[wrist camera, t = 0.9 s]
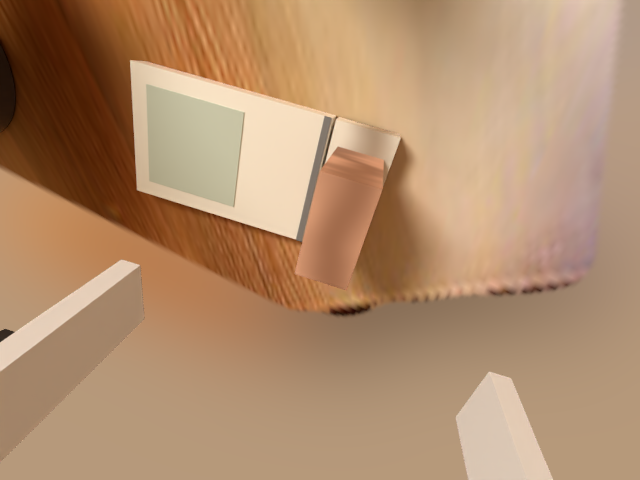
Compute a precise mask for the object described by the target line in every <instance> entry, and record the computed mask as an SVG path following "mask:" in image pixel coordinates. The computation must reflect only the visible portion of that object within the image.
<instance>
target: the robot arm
mask: <svg viewBox="0 0 640 480" xmlns="http://www.w3.org/2000/svg"><path fill="white" fill-rule="evenodd" d="M14 108H15V88H14V82H13V77H12V73H11V70H10V67H9V64H8V61H7V58H6V56H5V54H4V51H3V49H2V47H1V45H0V132H2V131H3V130H4V129H5V128H6V127H7V126H8V124H9V123H10V121H11V119H12V116H13V113H14ZM143 320H144V308H143V294H142V281H141V269H140V265H138V264H135V263H132V262H128V261H125V260H120V261H118V262H117V263H116V264H114V265H113V266H111V267H110V268H108V269H107V270H105V271H104V272H102V273H101V274H99V275H98V276H96V277H95V278H93V279H92V280H91V281H89V282H88V283H86V284H85V285H83V286H82V287H80V288H79V289H78V290H76V291H75V292H73V293H72V294H70V295H69V296H67V297H66V298H64V299H63V300H61V301H60V302H58V303H57V304H56V305H54V306H53V307H51V308H50V309H48V310H47V311H45V312H44V313H43V314H41V315H39V316H38V317H37V318H35V319H34V320H32V321H31V322H29V323H28V324H26V325H25V326H24V327H22V328H20V329H19V330H18V331H16V332H13V331H10V330H7V329H4V330H2V331H0V462H1V461H2V460H3V459H4V458H5V457H6V456H7V455H8V454H9V453H10V452H11V451H12V450H13V449H14V448H15V447H16V446H17V445H18V444H19V443H20V442H21V441H22V440H23V439H24V438H25V437H26V436H27V435H28V434H29V433H30V432H31V431H32V430H33V429H34V428H35V427H36V426H37V425H38V424H39V423H40V422H41V421H42V420H43V419H44V418H45V417H46V416H47V415H48V414H49V413H50V412H51V411H52V410H53V409H54V408H55V407H56V406H57V405H58V404H59V403H60V402H61V401H62V400H63V399H64V398H65V397H66V396H67V395H68V394H69V393H70V392H71V391H72V390H73V389H74V388H75V387H76V386H77V385H78V384H79V383H80V382H81V381H82V380H83V379H84V378H86V376H88V375H89V374H90V372H92V371H93V370H94V369H95V367H97V366H98V364H100V362H102V361H103V360H104V359H105V358H106V357H107V356H108V355H109V354H110V353H111V352H112V351H113V350H114V348H116V347H117V346H118V345H119V344H120V343H121V342H122V341H123V340H124V339H125V338H126V337H127V335H129V334H130V333H131V332H132V331H133V330H134V329H135V328H136V327H137V326H138V325H139V324H140V323H141V322H142V321H143ZM456 422H457V426H458V432H459V436H460V442H461V447H462V451H463V456H464V461H465V466H466V471H467V476H468V480H553V478H552V476H551V474H550V471H549V469H548V467H547V464H546V462H545V459H544V457H543V455H542V452H541V449H540V447H539V445H538V442H537V440H536V437H535V435H534V433H533V430H532V428H531V425H530V423H529V421H528V418H527V416H526V413H525V411H524V409H523V406H522V403H521V401H520V399H519V396H518V394H517V391H516V389H515V387H514V384H513V382H512V379H511V378H508V377H505V376H502V375H498V374H495V373H492V372H488V374H487V375H486V377H485V378H484V380H483V381H482V382H481V383H480V385H479V386H478V387H477V389H476V390H475V392H474V393H473V394H472V396H471V397H470V398H469V400H468V401H467V402H466V404H465V405H464V406H463V408H462V409H461V410H460V412H459V413H458V415H457V416H456Z"/></svg>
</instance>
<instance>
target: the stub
mask: <svg viewBox="0 0 640 480" xmlns="http://www.w3.org/2000/svg"><path fill="white" fill-rule="evenodd" d="M400 139H401V137H400V134H398V133H394V132H391V131H387V130H384V129H380V128H377V127H373V126H370V125H366V124H363V123H359V122H356V121H352V120H349V119H345V118H342V117H339V118H337V119H336V121H335V125H334V129H333V133H332V137H331V141H330V145H329V149H328V153H327V157H326V161H325V164H324V166H323V167H322V169H321V170H320V172H319V176H318V180H317V184H316V188H315V192H314V196H313V200H312V204H311V209H310V213H309V217H308V221H307V225H306V229H305V233H304V237H303V241H302V245H301V249H300V254H299V258H298V262H297V266H296V270H295V274H296V275H299V276H303V277H306V278H309V279H312V280H315V281H318V282H322V283H325V284H328V285H331V286H334V287H337V288H341V289H344V290H347V287H348V285H349V282H350V279H351V276H352V273H353V271H354V268H355V265H356V262H357V259H358V257H359V254H360V251H361V248H362V246H363V243H364V240H365V237H366V234H367V232H368V229H369V226H370V223H371V220H372V218H373V215H374V212H375V209H376V206H377V204H378V201H379V198H380V195H381V192H382V189H383V186H384V183H385V181H386V178H387V175H388V172H389V169H390V167H391V164H392V161H393V158H394V155H395V153H396V150H397V147H398V144H399V141H400Z"/></svg>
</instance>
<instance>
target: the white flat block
mask: <svg viewBox="0 0 640 480" xmlns="http://www.w3.org/2000/svg"><path fill="white" fill-rule="evenodd" d="M130 69H131V88H132V106H133V125H134V143H135V162H136V181H137V190H138V191H141V192H144V193H147V194H151V195H154V196H157V197H160V198H164V199H167V200H170V201H173V202H176V203H180V204H183V205H186V206H189V207H193V208H196V209H199V210H202V211H205V212H209V213H212V214H215V215H218V216H222V217H225V218H228V219H231V220H234V221H238V222H241V223H244V224H247V225H251V226H254V227H257V228H260V229H264V230H267V231H270V232H273V233H276V234H280V235H283V236H286V237H289V238H293V239H296V240H297V241H300V242H302V241H303V237H304V233H305V229H306V225H307V221H308V217H309V213H310V209H311V204H312V200H313V196H314V192H315V188H316V184H317V180H318V176H319V172H320V170H321V169H322V167H323V166H324V164H325V160H326V156H327V152H328V148H329V144H330V140H331V136H332V132H333V128H334V124H335V120H336V115H333V114H329V113H326V112H322V111H319V110H315V109H312V108H308V107H305V106H301V105H298V104H294V103H291V102H287V101H284V100H280V99H277V98H273V97H270V96H266V95H263V94H259V93H256V92H252V91H249V90H245V89H242V88H238V87H235V86H231V85H228V84H224V83H221V82H217V81H214V80H210V79H207V78H203V77H200V76H196V75H193V74H189V73H186V72H182V71H179V70H175V69H172V68H168V67H165V66H161V65H158V64H154V63H151V62H147V61H136V60H130Z"/></svg>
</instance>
